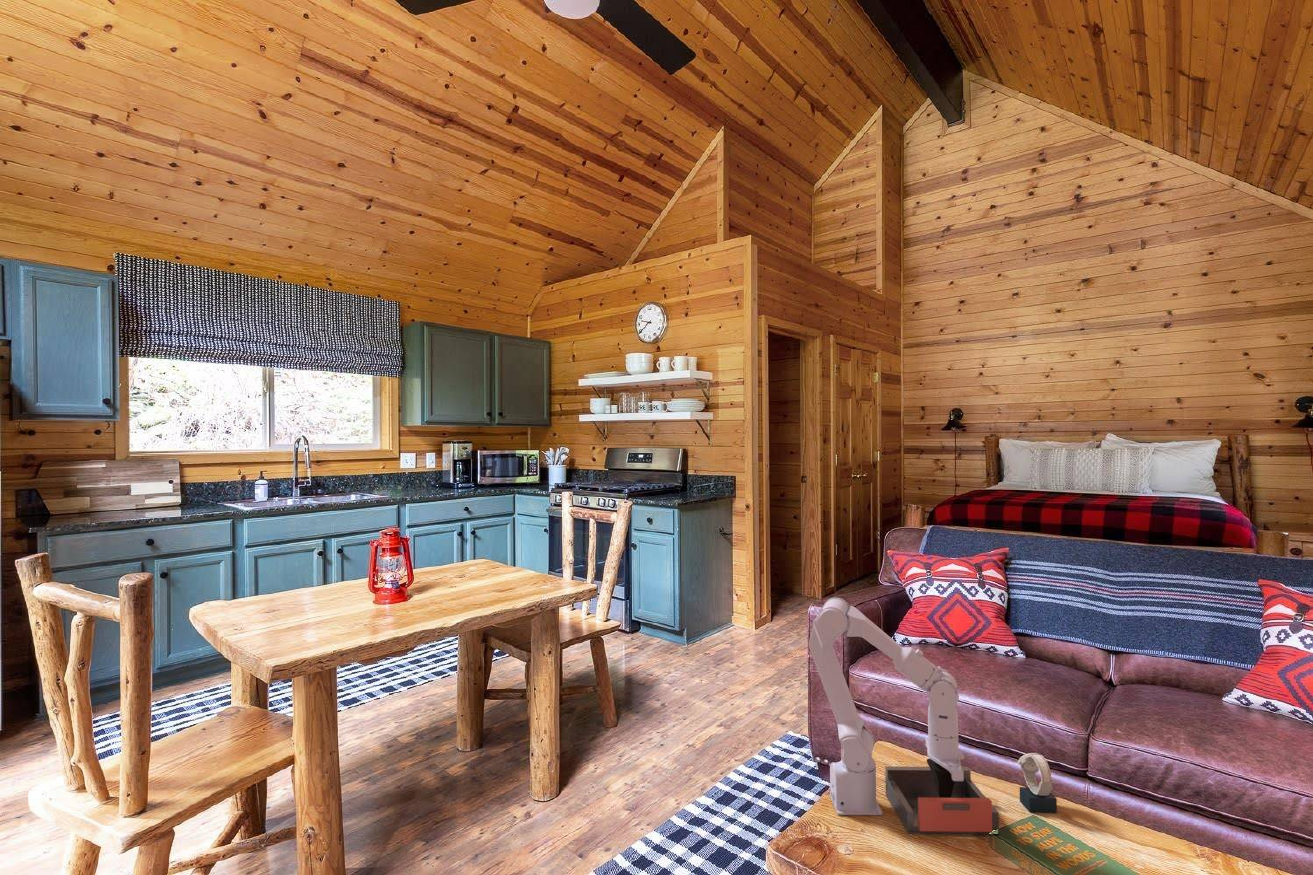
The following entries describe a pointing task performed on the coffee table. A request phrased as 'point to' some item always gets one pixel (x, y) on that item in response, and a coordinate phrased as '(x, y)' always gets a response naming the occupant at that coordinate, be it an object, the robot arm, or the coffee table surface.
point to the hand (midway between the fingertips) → (944, 797)
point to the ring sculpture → (1034, 794)
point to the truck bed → (925, 795)
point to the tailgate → (955, 814)
